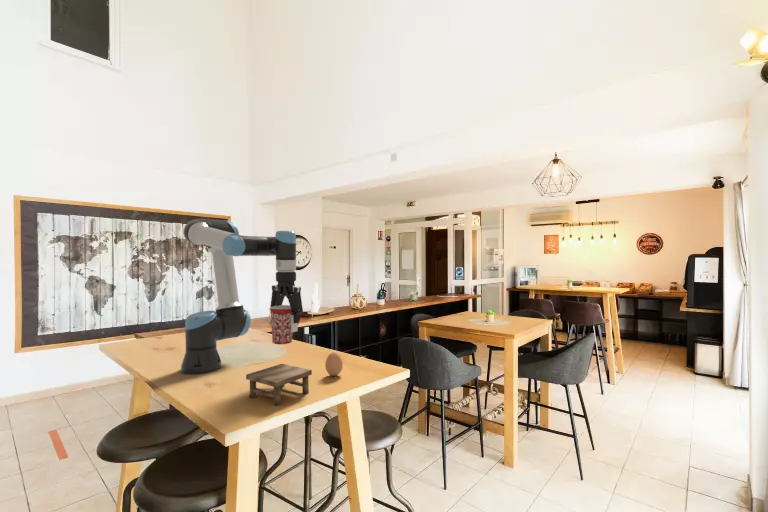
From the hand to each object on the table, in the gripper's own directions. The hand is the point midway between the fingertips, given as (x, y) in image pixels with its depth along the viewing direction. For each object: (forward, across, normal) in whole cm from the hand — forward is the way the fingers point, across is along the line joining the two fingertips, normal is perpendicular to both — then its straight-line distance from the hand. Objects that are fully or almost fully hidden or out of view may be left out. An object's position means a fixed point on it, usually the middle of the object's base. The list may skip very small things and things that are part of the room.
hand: (286, 330), depth 145 cm
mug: (+5, 0, 0) cm, 5 cm away
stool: (+18, +13, -14) cm, 26 cm away
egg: (+18, +15, +11) cm, 26 cm away
